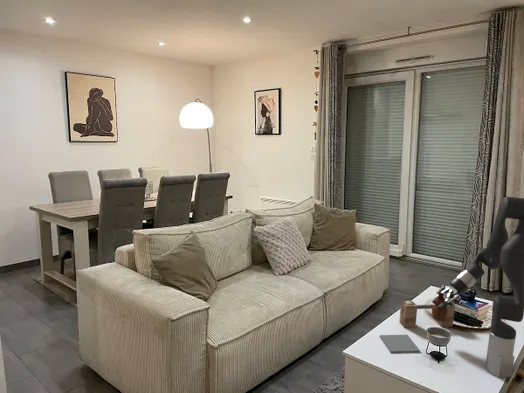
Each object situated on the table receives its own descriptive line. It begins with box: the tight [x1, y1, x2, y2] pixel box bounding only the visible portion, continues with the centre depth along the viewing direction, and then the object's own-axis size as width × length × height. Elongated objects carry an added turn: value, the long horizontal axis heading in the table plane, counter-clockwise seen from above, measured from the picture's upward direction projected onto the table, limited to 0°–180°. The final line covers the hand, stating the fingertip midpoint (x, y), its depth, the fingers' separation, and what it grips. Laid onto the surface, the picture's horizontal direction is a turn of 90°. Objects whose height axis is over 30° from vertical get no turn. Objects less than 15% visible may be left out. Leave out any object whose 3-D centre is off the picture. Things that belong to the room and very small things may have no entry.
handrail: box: [398, 300, 456, 329], centre depth 204 cm, size 6×26×13 cm, turn 94°
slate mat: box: [379, 334, 421, 354], centre depth 186 cm, size 14×14×1 cm
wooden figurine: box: [431, 291, 447, 322], centre depth 187 cm, size 7×6×15 cm
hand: (436, 305), depth 187 cm, fingers closed on wooden figurine, 5 cm apart
